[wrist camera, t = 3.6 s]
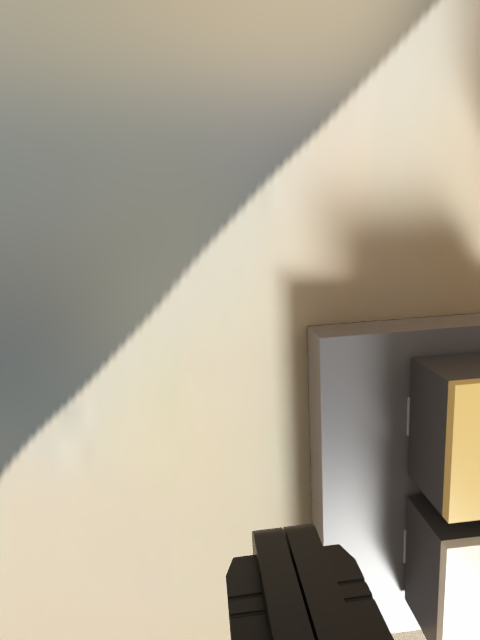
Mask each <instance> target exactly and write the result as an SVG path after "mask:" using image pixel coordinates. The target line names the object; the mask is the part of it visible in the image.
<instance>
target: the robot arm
mask: <svg viewBox="0 0 480 640" xmlns="http://www.w3.org/2000/svg"><path fill="white" fill-rule="evenodd" d="M252 542H253V555H250V556H243V557H235V558H233V560H232V562H231V565H230V567H229V570H228V572H227V575H226V583H227V595H228V608H229V620H230V632H231V640H394V639H393V637H392V635H391V633H390V631H389V628H388V626H387V624H386V622H385V620H384V618H383V616H382V614H381V612H380V610H379V608H378V605H377V603H376V601H375V599H373V596H372V593H371V591H370V589H369V587H368V585H367V582H365V578H364V576H363V574H362V572H361V570H360V568H359V566H358V564H357V562H356V559H355V558H354V557H352V556H351V555H350V554H349V553H348V552H347V551H346V550H345V549H344V548H343V547H342V546H341V545H340V544H336V545H328V546H323V545H322V542H321V540H320V537H319V535H318V532H317V530H316V527H315V525H314V524H305V525H297V526H289V527H284V528H283V529H282V528H274V529H266V530H258V531H252Z"/></svg>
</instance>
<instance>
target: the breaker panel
mask: <svg viewBox="0 0 480 640" xmlns="http://www.w3.org/2000/svg"><path fill="white" fill-rule="evenodd" d="M307 342H308V381H309V421H310V461H311V500H312V524H314V525H315V527H316V530H317V532H318V535H319V537H320V540H321V542H322V545H323V546H328V545H336V544H340V545H341V546H342V547H343V548H344V549H345V550H346V551H347V552H348V553H349V554H350V555H351V556H352V557H354V558H355V559H356V562H357V564H358V566H359V568H360V570H361V572H362V574H363V576H364V578H365V582H367V585H368V587H369V589H370V591H371V593H372V596H373V599H375V601H376V603H377V605H378V608H379V610H380V612H381V614H382V616H383V618H384V620H385V622H386V624H387V626H388V628H389V631H390V633H391V634H392V633H399V632H407V631H415V630H422V629H421V628H420V626H419V624H418V622H417V620H416V619H415V617H414V615H413V613H412V611H411V609H410V608H409V606H408V604H407V602H406V600H405V566H406V530H407V497H411V496H420V495H424V494H423V492H422V491H421V490H420V489H419V488H418V486H417V485H416V484H415V483H414V482H413V480H412V479H411V478H410V477H409V476H408V457H409V421H410V385H411V358H413V357H425V356H437V355H449V354H461V353H472V352H480V313H473V314H460V315H447V316H435V317H422V318H409V319H396V320H383V321H370V322H357V323H344V324H331V325H318V326H307Z"/></svg>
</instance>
